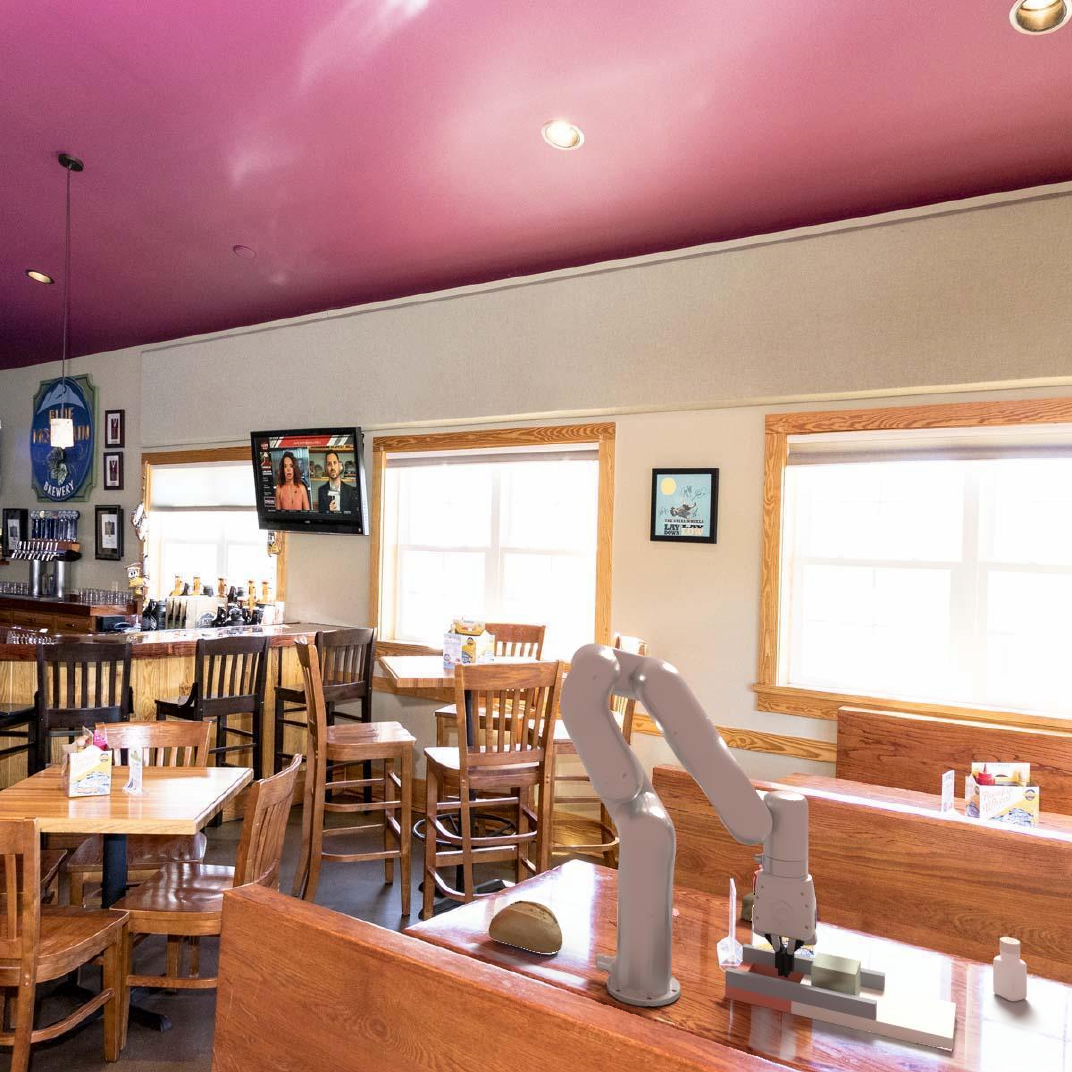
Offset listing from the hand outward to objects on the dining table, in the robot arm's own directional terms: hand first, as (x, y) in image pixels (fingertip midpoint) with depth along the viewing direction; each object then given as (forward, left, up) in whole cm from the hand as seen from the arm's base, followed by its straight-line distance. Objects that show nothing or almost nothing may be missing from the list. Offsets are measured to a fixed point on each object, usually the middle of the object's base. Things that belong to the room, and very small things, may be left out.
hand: (784, 973), depth 155 cm
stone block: (-10, +32, -4) cm, 33 cm away
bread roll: (-48, -5, -4) cm, 48 cm away
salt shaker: (+34, +19, -4) cm, 40 cm away
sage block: (+8, 0, -1) cm, 9 cm away
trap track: (+9, 0, -3) cm, 10 cm away
